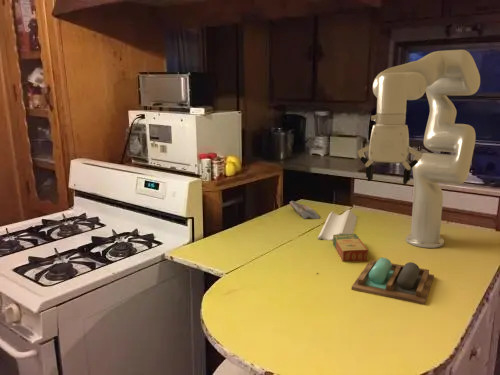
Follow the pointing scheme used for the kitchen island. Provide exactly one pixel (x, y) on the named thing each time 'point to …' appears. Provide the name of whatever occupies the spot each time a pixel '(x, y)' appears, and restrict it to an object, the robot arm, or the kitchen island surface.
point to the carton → (350, 247)
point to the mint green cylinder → (380, 270)
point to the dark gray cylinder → (408, 276)
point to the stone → (304, 210)
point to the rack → (395, 284)
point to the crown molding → (338, 225)
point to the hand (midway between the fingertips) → (387, 181)
